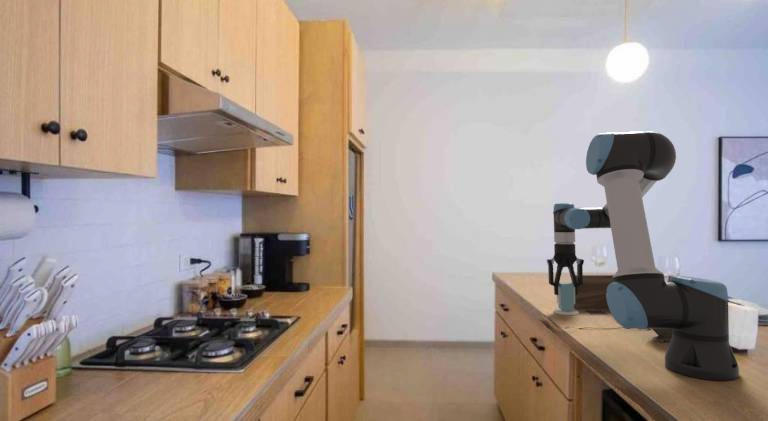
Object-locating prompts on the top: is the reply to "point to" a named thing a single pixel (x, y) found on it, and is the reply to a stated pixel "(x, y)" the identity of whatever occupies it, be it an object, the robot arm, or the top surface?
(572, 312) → the saucer
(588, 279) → the dark brown wooden box
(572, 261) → the robot arm
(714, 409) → the top surface
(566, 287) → the block
